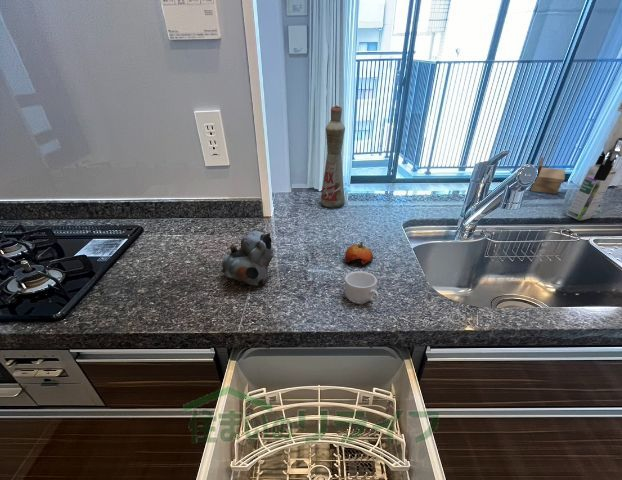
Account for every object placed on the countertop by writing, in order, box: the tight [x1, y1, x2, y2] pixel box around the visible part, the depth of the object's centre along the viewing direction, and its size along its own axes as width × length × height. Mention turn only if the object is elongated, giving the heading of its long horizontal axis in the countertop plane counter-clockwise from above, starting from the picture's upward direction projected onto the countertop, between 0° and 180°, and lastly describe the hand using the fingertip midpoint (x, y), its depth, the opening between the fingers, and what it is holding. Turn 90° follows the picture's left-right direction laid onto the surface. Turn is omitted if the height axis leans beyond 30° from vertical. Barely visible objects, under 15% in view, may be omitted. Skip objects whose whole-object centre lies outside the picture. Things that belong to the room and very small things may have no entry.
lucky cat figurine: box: [220, 230, 275, 287], centre depth 95 cm, size 15×12×14 cm
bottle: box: [320, 104, 346, 209], centre depth 122 cm, size 9×9×28 cm
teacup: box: [344, 270, 380, 305], centre depth 89 cm, size 10×8×5 cm
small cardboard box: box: [530, 157, 566, 195], centre depth 140 cm, size 10×12×8 cm
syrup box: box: [565, 164, 618, 222], centre depth 118 cm, size 6×6×14 cm
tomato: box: [344, 241, 374, 265], centre depth 103 cm, size 8×7×7 cm
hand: (598, 175), depth 115 cm, fingers open, 9 cm apart
